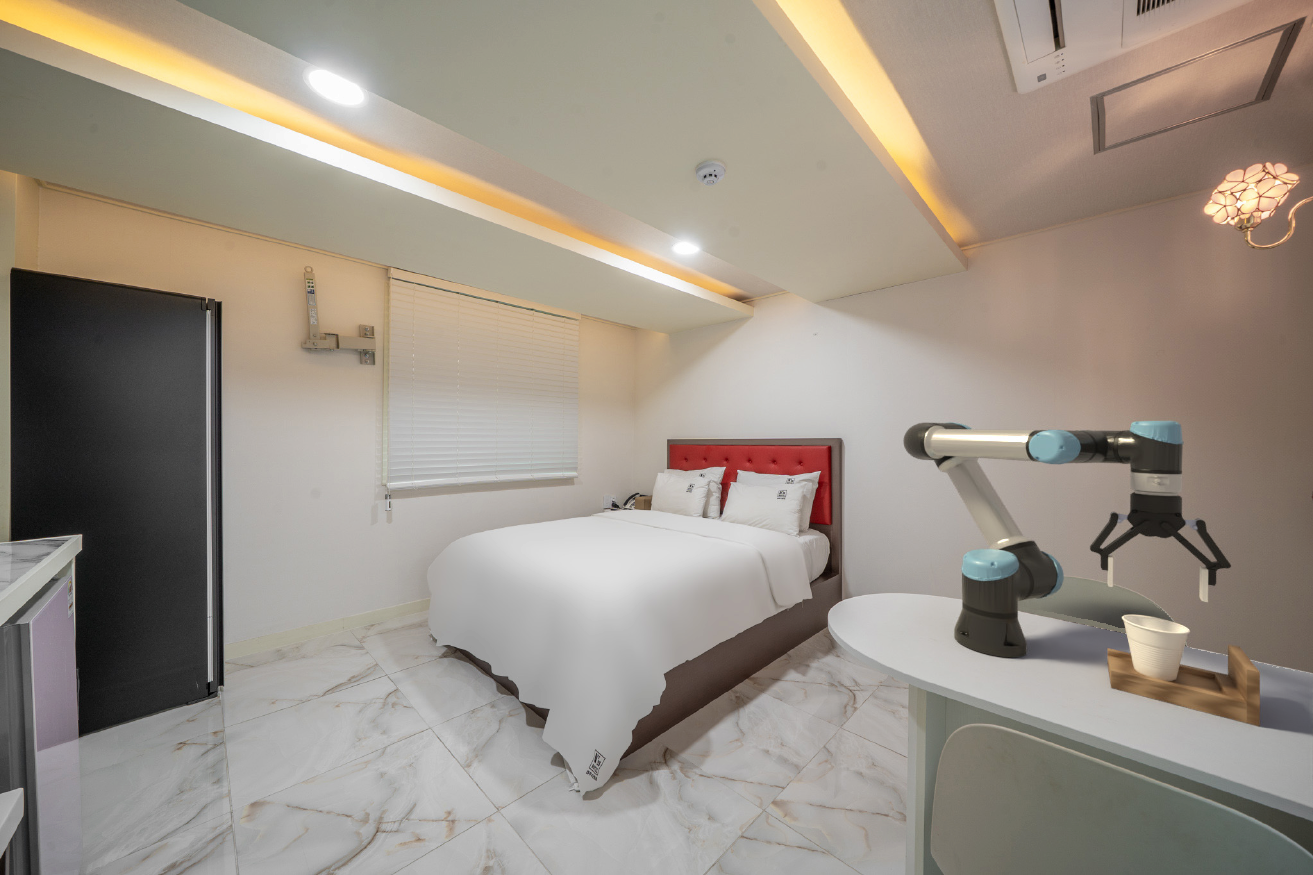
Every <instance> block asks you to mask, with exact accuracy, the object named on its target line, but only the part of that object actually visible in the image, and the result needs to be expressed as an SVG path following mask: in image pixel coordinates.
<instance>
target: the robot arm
mask: <svg viewBox="0 0 1313 875" xmlns="http://www.w3.org/2000/svg"><path fill="white" fill-rule="evenodd" d="M902 441H903V446H904V449H905V451H906V452H907V454H908V455H910V456H911V457H913V458H914V459H917V460H922V461H933V462H934V463H935V466H936V467H937V469H938V470H939V471H940V472H942V473H946V474H947V475H948V478H949V479H950V482H952V484H953V486H954V488H955V489H956V491H957V493H958V494H959V496H960V498H961V499H962V501H963V503H964V505H965V507H966V508H967V510H968V512H969V514H970V515H971V516H970V517H972V519H973V521H974V523H975V524H976V526H977V528H978V530H979V531H980V533H981V535H982V536H983V538H984V540H985V541H986V544H987V545H988V547H989V548H987V549H986V548H980V549H979V548H978V549H973V550H970V551H967V552H966V553H965V554H964V555H963V556H962V565H961V568H960V569H961V576H962V577H961V579H962V580H961V584H962V586H961V591H962V592H961V595H962V596H961V597H962V598H961V599H962V601H961V602H962V603H961V604H962V605H961V606H962V607H961V610H960V614H959V616H958V619H957V621H956V623H955V626H954V631H953V632H954V633H953V635H954V639H955V641H956V640H957V641H956V642H958V643H959V644H960V645H962V646H963V647H966V648H968V649H970V650H972V651H975V652H978V653H981V654H986V655H989V656H996V657H1002V658H1020V657H1021V658H1022V657H1024V656H1026V655H1027V653H1028V643H1027V640H1026V637H1025V635H1024V632H1023V628H1022V627H1021V624H1020V622H1019V602H1021V601H1027V600H1032V599H1033V600H1034V599H1042V598H1047V597H1048V596H1052V595H1054V594H1056V593H1057V592H1058V591H1059V590H1060V589H1061V588H1062V586H1063V583H1064V579H1065V575H1064V574H1065V573H1064V569H1063V567H1062V565H1061V563H1060V562H1059V561H1058V559H1057V558H1055V556H1053V555H1052V554H1049V553H1047V552H1045V551H1042V550H1041V549H1040V548H1039V546H1038V544H1037V543H1036V541H1035V540H1034V539H1032V538H1029V537H1026V536H1025V535H1024V534H1023V533H1022V531H1021V530H1020V528H1019V526H1018V525H1017V523H1016V521H1015V520H1014V518H1013V516H1012V515H1011V513H1010V512H1009V510H1008V508H1007V507H1006V505H1005V504H1004V502H1003V500H1002V498H1001V497H1000V496H999V494H998V492H997V491H996V489H995V488H994V486H993V484H992V483H991V481H990V480H989V478H988V476H987V475H986V472H985V471H984V470H983V469H982V467H981V465H980V464H979V459H988V460H990V459H991V460H1006V461H1020V462H1021V461H1023V462H1036V463H1043V464H1048V465H1063V464H1064V465H1065V464H1095V463H1096V464H1121V465H1129V466H1130V474H1129V475H1130V476H1129V477H1130V480H1129V481H1130V482H1129V484H1130V486H1129V488H1130V490H1131V491H1133V492H1131V493H1130V494H1129V495H1130V496H1129V497H1130V498H1129V505H1130V507H1129V509H1130V510H1129V513H1128V514H1124V513H1120V512H1119V513H1118V512H1117V511H1111V512H1110V514H1109V518H1108V519H1109V520H1108V521H1107V523H1106V524H1105V525H1104V527H1103V529H1102V530H1101V531H1100V532H1099V533H1098V534H1097V536H1096V537H1095V539H1094V540H1093V541H1092V543H1091V544H1090V546H1089V550H1090V551H1091V552H1092V553H1096V554H1098V555H1099V556H1100V568H1101V571H1106V572H1107V581H1106V582H1107V587H1109V588H1113V587H1114V557H1113V555H1112V554H1113V553H1114V552H1115V551H1117V549H1119V548H1120V547H1122V546H1124V545H1125V544H1126V543H1128V542H1130V540H1132V539H1134V538H1136V537H1137V536H1138V535H1142V536H1144V537H1150V538H1153V537H1157V538H1161V539H1168V538H1172V537H1173V538H1174V539H1175V540H1176V541H1177V542H1179V543H1180V544H1181V545H1182V546H1183V547H1184V548H1185V549H1186V550H1188V551H1189V553H1191V554H1192V555H1193V556H1194V557H1195V558H1196V559H1198V560H1199V561H1200V562H1201V563H1202V564H1203V565H1204V566H1199V594H1198V595H1199V599H1200V601H1201V602H1203V603H1204V602H1205V603H1209V586H1212V587H1215V586H1216V584H1217V571H1218V570H1221V569H1230V568H1231V567H1232V565H1231V563H1230V561H1229V560H1228V559H1227V556H1225V554H1224V553H1223V552H1222V550H1221V549H1220V547H1219V545H1218V544H1217V543H1216V542H1215V540H1214V539H1213V538H1212V536H1211V534H1209V531H1208V530H1207V524H1206V521H1205V520H1204V519H1202V518H1198V517H1197V518H1195V519H1184V517H1183V497H1182V496H1181V495H1179V494H1181V493H1182V492H1183V475H1182V474H1183V468H1182V467H1183V448H1184V447H1183V446H1184V441H1183V429H1182V425H1181V424H1180V423H1179V422H1178V421H1175V420H1142V421H1141V420H1139V421H1138V420H1137V421H1133V422H1132V423H1131V424H1130V428H1129V429H1126V430H1125V429H1124V430H1092V429H1085V430H1081V429H1080V430H1066V429H1065V430H1063V429H979V428H978V429H974V428H973V429H972V427H970V426H968V425H966V424H963V423H958V422H954V421H953V422H950V421H949V422H919V423H916V424H914V425H912V426H910V427H909V428H908V429H907V430H906V432H905V434H904V436H903V440H902ZM1124 521H1128V522H1129V524H1130V525H1131V527H1130V528H1129V529H1127V530H1126V532H1124V533H1122V534H1121V535H1120V536H1118V537H1117V538H1115V539H1114V540H1113V541H1112V542H1110V543H1109V544H1107V545H1106V546H1104V547H1103V548H1102V545H1103V544H1104V543H1105V542H1106V540H1107V539H1108V537H1109V536H1110V534H1112V532H1113V531H1114V530H1115V528H1116V527H1117V525H1118V524H1121V523H1123V522H1124ZM1185 526H1189V528H1190V529H1191V530H1193V531H1196V533H1197V535H1198V536H1199V537H1200V538H1201V540H1202V542H1203V543H1204V544H1205V546H1206V548H1208V550H1209V551H1210V553H1211V554H1212V556H1213V557H1214V559H1215V561H1211V560H1210V559H1209V558H1208V557H1207V556H1206V555H1205V554H1203V553H1202V551H1201V550H1200V549H1198V548H1197V547H1196V546H1195V545H1193V544H1192V543H1191V542H1190V541H1189V540H1188V539H1186V537H1185V536H1183V535H1182V534H1181V533H1180V532H1179V531H1181V530H1182V528H1184V527H1185Z"/></svg>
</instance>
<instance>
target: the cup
mask: <svg viewBox="0 0 1313 875" xmlns="http://www.w3.org/2000/svg"><path fill="white" fill-rule="evenodd" d="M1121 620H1122V621H1123V623H1124V627H1125V628H1124V629H1125V633H1126V637H1127V640H1128V646H1129V650H1130V652H1129V653H1131V656H1132V661H1133V666H1134V669H1135V670H1136V671H1137V672H1138V673H1140V674H1142V675H1144V676H1147V677H1151V678H1155V679H1159V680H1164V681H1173V680H1176V678H1177V674H1178V670H1179V666H1180V664H1181V662H1182V658H1183V654H1184V649H1185V646H1186V643H1187V639H1188V634H1190V633H1191V630H1190V629H1189V628H1188V627H1187V626H1185V625H1182V624H1180V623H1178V622H1174V621H1172V620H1167V619H1164V618H1159V617H1155V616H1149V615H1143V614H1124V615H1123V616H1121Z"/></svg>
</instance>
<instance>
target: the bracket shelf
mask: <svg viewBox="0 0 1313 875" xmlns="http://www.w3.org/2000/svg"><path fill="white" fill-rule="evenodd" d="M1106 650H1107V652H1106V653H1107V655H1106V656H1107V658H1106V659H1107V660H1106V661H1107V668H1108V669H1107V670H1108V675H1109V681H1110V689H1114V690H1119V691H1122V692H1125V693H1129V694H1133V695H1137V696H1141V697H1145V698H1148V699H1153V700H1157V701H1159V702H1160V701H1161V702H1164V703H1168V704H1172V705H1176V706H1180V707H1183V708H1186V709H1187V708H1188V709H1190V710H1191V709H1192V710H1195V711H1199V712H1203V713H1207V714H1210V715H1214V716H1218V717H1222V718H1226V719H1230V720H1234V721H1237V722H1241V723H1245V724H1249V725H1253V726H1255V727H1260V726H1261V720H1260V719H1261V716H1260V714H1261V711H1260V710H1261V709H1260V707H1261V706H1260V705H1261V702H1260V700H1261V685H1260V684H1261V672H1260V671H1259V669H1258V668H1257V667H1256V665H1255V664H1254V663H1253V662H1252V661H1251V659H1250V658H1249V657H1248V655H1247V654H1246V652H1244V650H1243V649H1242V648H1241V646H1237V645H1234V644H1227V673H1223V672H1218V671H1213V670H1210V669H1203V668H1200V667H1196V666H1191V665H1185V664H1182V663H1180V666H1179V670H1178V674H1177V678H1176V680H1173V681H1164V680H1159V679H1155V678H1151V677H1147V676H1144V675H1142V674H1140V673H1138V672H1137V671H1136V670H1135V669H1134V666H1133V661H1132V656H1131V652H1126V651H1123V650H1118V649H1113V648H1109V647H1107V649H1106Z"/></svg>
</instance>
